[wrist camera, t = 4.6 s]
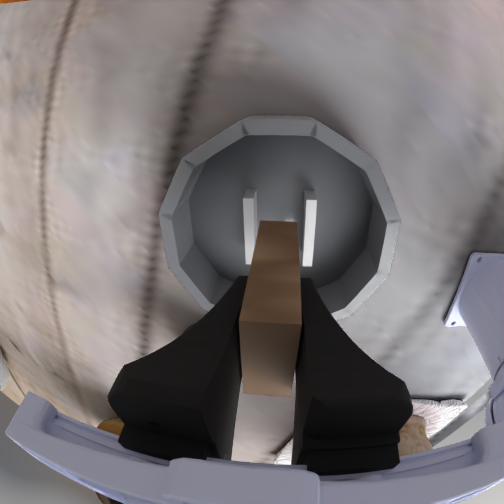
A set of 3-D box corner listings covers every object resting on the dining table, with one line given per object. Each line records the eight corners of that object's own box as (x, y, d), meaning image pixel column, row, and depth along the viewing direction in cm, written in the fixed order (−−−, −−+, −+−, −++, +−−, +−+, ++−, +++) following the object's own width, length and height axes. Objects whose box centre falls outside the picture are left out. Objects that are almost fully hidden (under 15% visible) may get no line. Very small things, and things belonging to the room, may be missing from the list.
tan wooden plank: (297, 221, 14) (301, 324, 8) (292, 287, 16) (290, 396, 10) (260, 220, 14) (238, 320, 8) (260, 286, 16) (243, 393, 10)
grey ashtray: (387, 123, 15) (412, 130, 12) (361, 298, 22) (371, 333, 19) (174, 120, 17) (147, 127, 13) (195, 292, 24) (181, 325, 20)
